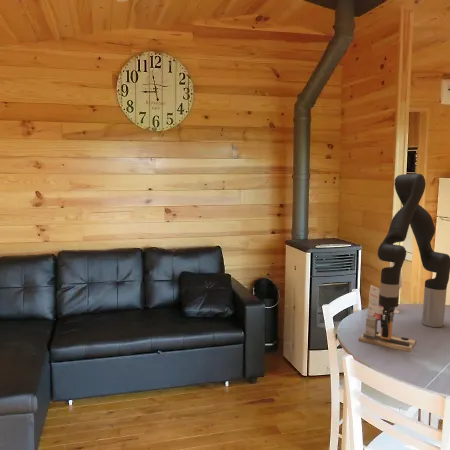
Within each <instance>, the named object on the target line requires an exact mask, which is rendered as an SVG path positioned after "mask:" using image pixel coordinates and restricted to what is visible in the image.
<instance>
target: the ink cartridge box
mask: <svg viewBox="0 0 450 450" xmlns="http://www.w3.org/2000/svg"><path fill="white" fill-rule="evenodd" d="M379 289H380V287H377V286H374V285H373V284H370V286H369V295H368V308H367V315H368V314H369V315H368V316H371V317H376V318H378V320H381V317H380V316H381V315H382V310H383V308H384V307H383V306H380V305H379Z"/></svg>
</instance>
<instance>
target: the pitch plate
mask: <svg viewBox="0 0 450 450" xmlns="http://www.w3.org/2000/svg"><path fill="white" fill-rule="evenodd" d="M365 320H366V323H365V332H363V333H362V334H361V336H359V337H358V342H362V343H367V344H370V345H376V346H381V347H384V348H391V349H395V350H399V351H404V352H409V353H410V352H412V350H413V348H414V346H415V345H416V343H417V339H414V338H409V337H404V336H400V335H394V334H392V337H391V339H390V340H388V339H383V338H380V336H381V331H380V332H379V331H378V318H376V317H372V316H370V315H368V316H367V317H366V319H365Z"/></svg>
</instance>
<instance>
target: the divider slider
mask: <svg viewBox="0 0 450 450" xmlns="http://www.w3.org/2000/svg"><path fill="white" fill-rule="evenodd" d="M388 321H389V320H388ZM393 323H394V319H393V320H391V322H390V323H389V329H388V337H387V338H386V337H382V327H381V326H380V333H381V336H380V338H383V339H388V340H390V339H391V337H392V335H393ZM384 325H386V324H384Z"/></svg>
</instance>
